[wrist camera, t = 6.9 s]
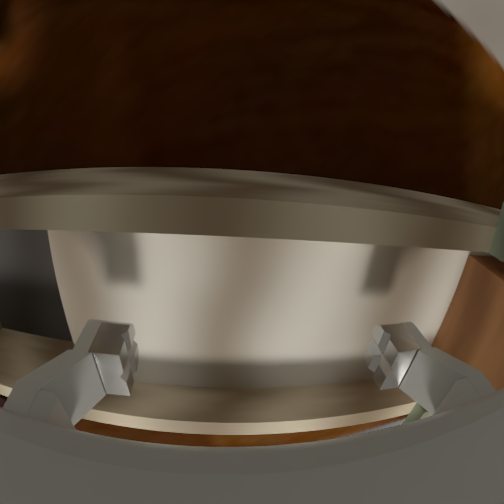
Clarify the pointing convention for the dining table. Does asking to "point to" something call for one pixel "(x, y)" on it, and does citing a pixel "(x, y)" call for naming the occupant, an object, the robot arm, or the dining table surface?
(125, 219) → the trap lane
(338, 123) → the dining table surface
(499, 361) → the block
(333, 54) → the dining table surface
